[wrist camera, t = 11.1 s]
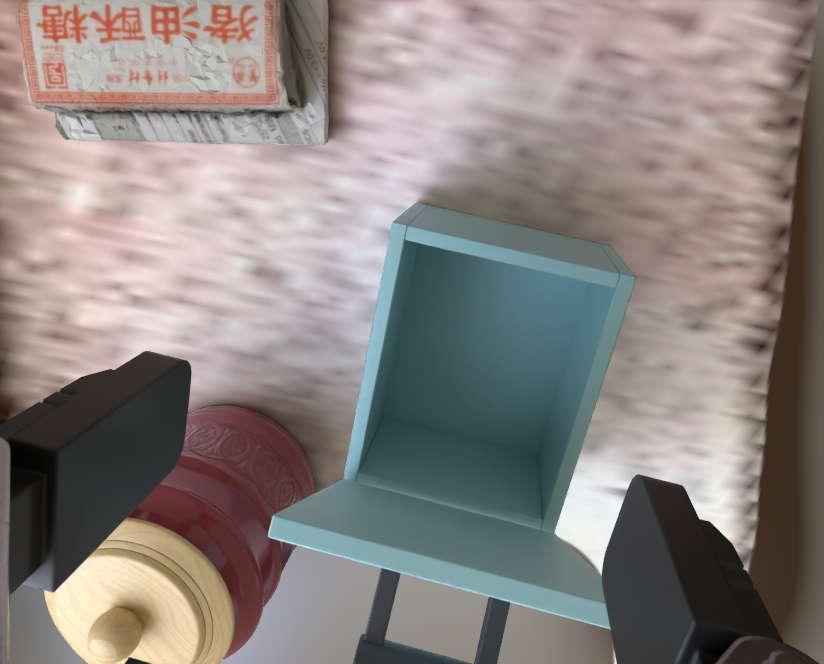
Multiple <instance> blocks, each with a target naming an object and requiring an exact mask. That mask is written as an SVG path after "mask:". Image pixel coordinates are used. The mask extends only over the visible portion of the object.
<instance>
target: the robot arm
mask: <svg viewBox="0 0 824 664" xmlns="http://www.w3.org/2000/svg"><path fill="white" fill-rule="evenodd" d="M190 384H191V366H190V364H189V362H188V361H186V360H182V359H178V358H174V357H170V356H166V355H162V354H158V353H154V352H150V351H145V352H143V353H141V354H140V355H138V356H136V357H135V358H133V359H132V360H130V361H128V362H127V363H125V364H124V365H122V366H120V367H119V368H117V369H116V370H112V369H109V370H105V371H102V372H98V373H94V374H91V375H87V376H83V377H81V378H79V379H77V380H76V381H74V382H72V383H71V384H69V385H67V386H65V387H64V388H62V389H61V390H60V393H59V392H55V393H54V394H52V395H50V396H49V397H47V398H45V399H43V402H42V403H40V402H38V403H37V404H35V405H33V406H32V407H30V408H28V409H27V410H25V411H23V412H22V413H20V414H18V415H16V416H15V417H13V418H11V419H10V420H8V421H6V422H5V423H3V424H1V425H0V664H9V648H10V647H9V645H10V643H9V641H10V594H11V593H13V592H14V591H15V590H16V589H17V588H18V587H19V586H20V585H21V584H25V585H29V586H32V587H35V588H39V589H43V590H46V591H50V592H53V593H54V592H55V591H56V590H57V589H58V588H59V587H60V586H61V585H62V584H63V583H64V582H65V581H66V580H67V579H68V578H69V577H70V576H71V575H72V574H73V573H74V572H75V571H76V569H77V568H78V567H79V566H80V565H81V564H82V563H83V562H84V561H85V560H86V559H87V558H88V557H89V556H90V555H91V554H92V553H93V552H94V551H95V550H96V549H97V548H98V547H99V546H100V545H101V544H102V543H103V542H104V541H105V540H106V539H107V538H108V537H109V536H110V535H111V534H112V533H113V532H114V530H115V529H116V528H117V527H118V526H119V525H120V524H121V523H122V522H123V521H124V520H125V519H126V518H127V517H128V516H129V515H130V514H131V513H132V512H133V511H134V510H135V509H136V508H137V507H138V506H139V505H140V504H141V503H142V502H143V501H144V500H145V499H146V498H147V497H148V496H149V495H150V494H151V492H152V491H153V490H154V489H155V488H156V487H157V486H158V485H159V484H160V483H161V482H162V481H163V480H164V479H165V478H166V477H167V476H168V475H169V474H170V473H171V472H172V470H173V469H174V468H175V466H176V464H177V462H178V460H179V458H180V456H181V453H182V450H183V446H184V442H185V434H186V424H187V414H188V404H189V394H190ZM743 567H744V565H743V564H742V562H741V560H740V558H739V556H738V554H737V552H736V550H735V548H734V546H733V544H732V543H731V542H730V541H729V540H728V539H727V538H726V537H725V536H724V535H723V534H722V533H721V532H720V531H719V530H718V529H717V528H716V527H715V526H714V525H713V524H712V523H711V522H709V521H705V520H701V519H699V518H698V516H697V514H696V511H695V509H694V507H693V505H692V503H691V501H690V499H689V496H688V494H687V492H686V490H685V488H684V487H683V486H682V485H679V484H675V483H671V482H667V481H663V480H659V479H655V478H651V477H647V476H643V475H639V474H638V475H636V476H635V477H634V478H633V479H632V481H631V483H630V485H629V488H628V490H627V493H626V496H625V499H624V502H623V504H622V507H621V510H620V513H619V516H618V518H617V521H616V524H615V527H614V530H613V532H612V535H611V538H610V541H609V544H608V546H607V550H606V553H605V557H604V562H603V569H602V588H603V593H604V598H605V603H606V609H607V614H608V619H609V624H610V629H611V634H612V640H613V645H614V650H615V655H616V660H617V664H819V663H818V662H816V661H815V660H813V659H812V658H810V657H809V656H808V655H806V654H804V653H802V652H801V651H799V650H797V649H795V648H793V647H791V646H789V645H787V644H785V643H784V642H783V640H782V638H781V637H780V635H779V633H778V631H777V629H776V627H775V625H774V623H773V621H772V619H771V617H770V615H769V614H768V612H767V610H766V608H765V606H764V604H763V602H762V600H761V598H760V596H759V594H758V592H757V591H756V589H753V583H752V581H751V579H750V577H749V575H748V573H747V571H746V570H743ZM125 664H152V663H148V662H145V661H141V660H138V659H134V658H131V657H129V658H128V660H127V661H126V662H125Z"/></svg>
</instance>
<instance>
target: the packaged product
mask: <svg viewBox="0 0 824 664" xmlns="http://www.w3.org/2000/svg"><path fill="white" fill-rule="evenodd" d="M16 22H17V25H18V26H19V29H20V41H21V45H22V51H23V60H22V64H23V69H24V78H25V80H26V88H27V101H28V104H29V105H32V106H35V107H36V108H37V109H40V108H43V109H46V110H48V111H52V112H55V116H56V128H57V129H58V131H59V132H60V134H61V135H62V137H63V138H64V139H67V140H118V141H142V142H187V143H209V144H222V143H239V144H266V145H293V146H308V145H325V144H326V143H327V142H328V126H329V110H328V0H20V9H19V11H18V13H17V16H16Z"/></svg>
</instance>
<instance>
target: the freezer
mask: <svg viewBox="0 0 824 664" xmlns="http://www.w3.org/2000/svg"><path fill="white" fill-rule="evenodd" d="M635 280H636V276H635V275H634V274H633V273H632V271H631V270H630V269H629V268H628V266H627V265H626V264H625V263H624V261H623V260H622V259H621V258H620V256H619V255H618V254H617V253H616V251H615V250H614V249H613V248H612V247H611V246H608V245H603V244H599V243H594V242H590V241H586V240H581V239H577V238H572V237H568V236H563V235H559V234H554V233H550V232H546V231H541V230H537V229H532V228H528V227H523V226H519V225H514V224H510V223H506V222H501V221H497V220H492V219H488V218H483V217H479V216H474V215H470V214H466V213H461V212H457V211H452V210H448V209H443V208H439V207H434V206H430V205H426V204H421V203H415V204H414V205H413V206H411V207H410V208H409V209H408V210H407V211H405V212H404V213H403V214H402V215H401V216H399V217H398V218H397V219H396V220H395V221H393V222H392V227H391V232H390V237H389V242H388V248H387V253H386V258H385V263H384V268H383V274H382V279H381V284H380V289H379V294H378V300H377V305H376V310H375V315H374V321H373V326H372V331H371V336H370V341H369V347H368V352H367V357H366V362H365V367H364V373H363V378H362V383H361V388H360V393H359V399H358V404H357V409H356V414H355V419H354V425H353V430H352V435H351V440H350V445H349V451H348V456H347V461H346V466H345V471H344V477H343V479H346V480H350V481H354V482H357V483H361V484H365V485H369V486H373V487H377V488H381V489H385V490H388V491H392V492H396V493H400V494H404V495H408V496H412V497H416V498H419V499H423V500H427V501H431V502H435V503H439V504H443V505H446V506H450V507H454V508H458V509H462V510H466V511H470V512H474V513H477V514H481V515H485V516H489V517H493V518H497V519H501V520H504V521H508V522H512V523H516V524H520V525H524V526H528V527H532V528H535V529H539V530H543V531H547V532H551V533H554V532H555V529H556V526H557V523H558V519H559V516H560V513H561V510H562V507H563V504H564V501H565V498H566V495H567V491H568V488H569V485H570V482H571V479H572V476H573V473H574V470H575V467H576V464H577V460H578V457H579V454H580V451H581V448H582V445H583V442H584V439H585V436H586V433H587V429H588V426H589V423H590V420H591V417H592V414H593V411H594V408H595V405H596V401H597V398H598V395H599V392H600V389H601V386H602V383H603V380H604V377H605V374H606V370H607V367H608V364H609V361H610V358H611V355H612V352H613V349H614V346H615V343H616V339H617V336H618V333H619V330H620V327H621V324H622V321H623V318H624V315H625V311H626V308H627V305H628V302H629V299H630V296H631V293H632V290H633V287H634V284H635Z"/></svg>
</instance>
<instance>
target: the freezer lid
mask: <svg viewBox="0 0 824 664" xmlns="http://www.w3.org/2000/svg"><path fill="white" fill-rule="evenodd" d="M268 537H269V538H272V539H276V540H279V541H283V542H287V543H290V544H294V545H298V546H302V547H306V548H310V549H313V550H317V551H321V552H324V553H328V554H332V555H335V556H339V557H343V558H347V559H350V560H354V561H358V562H362V563H365V564H369V565H373V566H376V567H380V568H381V572H380V576H379V580H378V584H377V589H376V592H375V596H374V601H373V605H372V609H371V613H370V617H369V621H368V625H367V630H366V633H365V634H362V635H361V637H360V640H359V644H358V647H357V650H356V654H355V658H354V662H353V664H471V663H468V662H464V661H460V660H457V659H453V658H450V657H446V656H442V655H439V654H435V653H432V652H428V651H424V650H421V649H417V648H413V647H410V646H406V645H402V644H399V643H395V642H392V641H388V640H385V635H386V631H387V627H388V623H389V619H390V614H391V610H392V606H393V602H394V598H395V594H396V589H397V585H398V581H399V577H400V573H403V574H406V575H410V576H414V577H418V578H422V579H425V580H429V581H433V582H436V583H440V584H444V585H447V586H452V587H455V588H459V589H463V590H466V591H470V592H474V593H477V594H481V595H485V596H489V599H488V604H487V608H486V613H485V617H484V622H483V626H482V631H481V635H480V640H479V644H478V649H477V653H476V658H475V662H474V664H497V660H498V656H499V652H500V647H501V643H502V638H503V633H504V629H505V624H506V619H507V615H508V610H509V606H510V602H511V603H515V604H518V605H522V606H526V607H530V608H534V609H537V610H541V611H545V612H548V613H552V614H556V615H560V616H563V617H567V618H571V619H575V620H578V621H582V622H586V623H589V624H593V625H597V626H601V627H604V628H608V629H610V624H609V619H608V614H607V609H606V603H605V598H604V593H603V588H602V576H601V575H600V574H599V573H598V572H597V571H595V570H594V569H593V568H592V567H591V566H590V565H589V564H588V563H587V562H585V561H584V560H583V559H582V558H581V557H580V556H579V555H578V554H577V553H575V552H574V551H573V550H572V549H571V548H570V547H569V546H568V545H567V544H566V543H564V542H563V541H562V540H561V539H560V538H559V537H558V536H557V535H556V534H554V533H551V532H547V531H543V530H539V529H535V528H532V527H528V526H524V525H520V524H516V523H512V522H508V521H504V520H501V519H497V518H493V517H489V516H485V515H481V514H477V513H474V512H470V511H466V510H462V509H458V508H454V507H450V506H446V505H443V504H439V503H435V502H431V501H427V500H423V499H419V498H416V497H412V496H408V495H404V494H400V493H396V492H392V491H388V490H385V489H381V488H377V487H373V486H369V485H365V484H361V483H357V482H354V481H350V480H346V479H342V480H340V481H338V482H336V483H334V484H332V485H330V486H328V487H326V488H324V489H322V490H320V491H319V492H317V493H315V494H313V495H311V496H309V497H307V498H305V499H303V500H301V501H299V502H297V503H295V504H294V505H292V506H290V507H288V508H286V509H284V510H282V511H280V512H278V513H276V514H274V515H273V517H272V521H271V525H270V528H269V532H268Z"/></svg>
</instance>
